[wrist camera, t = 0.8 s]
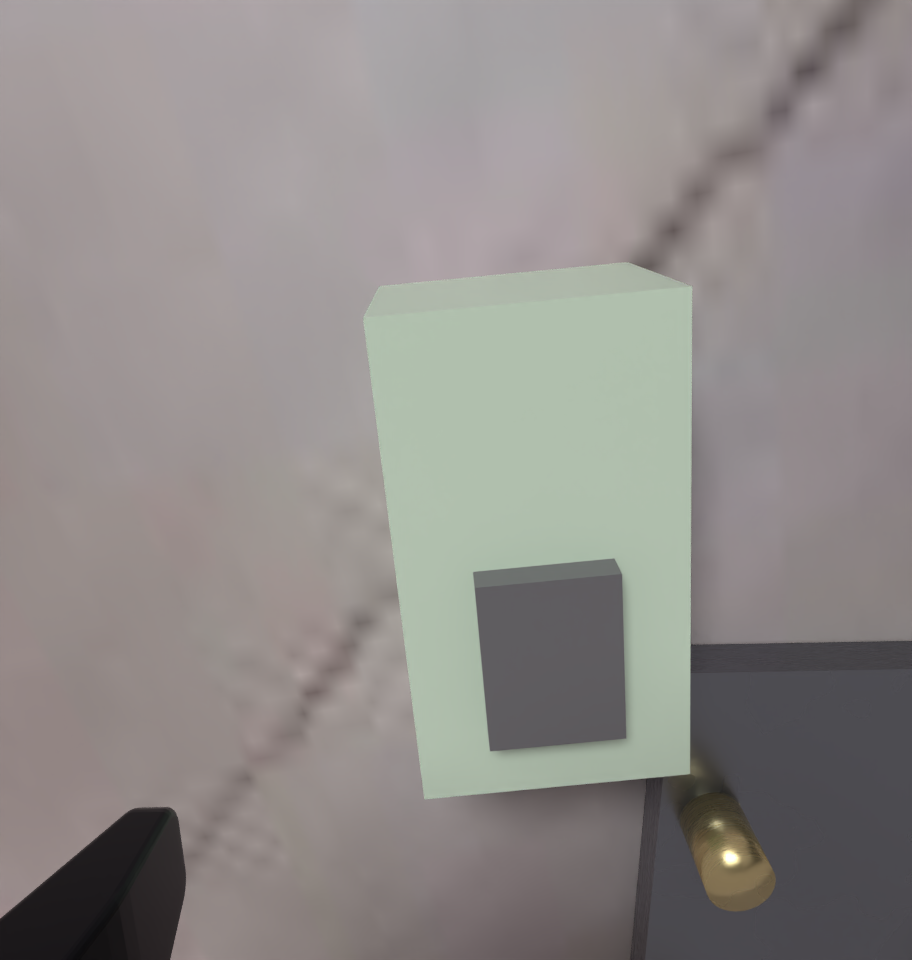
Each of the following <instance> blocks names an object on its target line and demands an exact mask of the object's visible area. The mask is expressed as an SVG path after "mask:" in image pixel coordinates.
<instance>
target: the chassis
mask: <svg viewBox="0 0 912 960" xmlns="http://www.w3.org/2000/svg"><path fill="white" fill-rule="evenodd" d="M631 960H912V641H884V642H828V643H772V644H715V645H691V646H690V774H686V775H676V776H665V777H655V778H647V784H646V795H645V806H644V817H643V828H642V839H641V850H640V862H639V873H638V884H637V895H636V906H635V917H634V928H633V939H632V950H631Z"/></svg>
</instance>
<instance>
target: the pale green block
mask: <svg viewBox="0 0 912 960" xmlns="http://www.w3.org/2000/svg"><path fill="white" fill-rule="evenodd" d="M363 321H364V329H365V337H366V345H367V353H368V360H369V368H370V376H371V384H372V392H373V400H374V407H375V415H376V423H377V431H378V439H379V447H380V455H381V462H382V470H383V478H384V486H385V494H386V502H387V509H388V517H389V525H390V533H391V541H392V549H393V556H394V564H395V572H396V580H397V588H398V596H399V603H400V611H401V619H402V627H403V635H404V643H405V651H406V658H407V666H408V674H409V682H410V690H411V698H412V705H413V713H414V721H415V729H416V737H417V745H418V752H419V760H420V768H421V776H422V784H423V792H424V799H434V798H445V797H455V796H466V795H476V794H487V793H497V792H508V791H518V790H529V789H539V788H550V787H560V786H571V785H581V784H592V783H602V782H613V781H623V780H634V779H644V778H655V777H665V776H676V775H686V774H690V646H691V432H692V286H690V285H687V284H685V283H682V282H679V281H677V280H674V279H671V278H669V277H666V276H663V275H661V274H658V273H655V272H652V271H650V270H647V269H644V268H642V267H639V266H636V265H634V264H631V263H628V262H625V263H614V264H604V265H594V266H583V267H573V268H562V269H552V270H542V271H531V272H521V273H511V274H500V275H490V276H479V277H469V278H459V279H448V280H438V281H428V282H417V283H407V284H397V285H386V286H379V288H378V290H377V292H376V294H375V296H374V298H373V300H372V302H371V303H370V305H369V307H368V309H367V311H366V313H365V315H364V317H363Z"/></svg>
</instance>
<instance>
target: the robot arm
mask: <svg viewBox="0 0 912 960" xmlns="http://www.w3.org/2000/svg"><path fill="white" fill-rule="evenodd" d="M185 886H186V871H185V863H184V856H183V849H182V842H181V835H180V827H179V821H178V817H177V815H176V812H175V811H174V810H173V809H171V808H169V807H152V808H135V809H132V810H130V811H128V812H127V813H126V814H124V815H123V816H122V817H121V818H120V819H118V820H117V821H116V822H115V823H114V824H112V825H111V826H110V827H109V828H108V829H106V830H105V831H104V832H103V833H102V834H101V835H99V836H98V837H97V838H96V839H95V840H93V841H92V842H91V843H90V844H89V845H87V846H86V847H85V848H84V849H83V850H81V851H80V852H79V853H78V854H77V855H76V856H74V857H73V858H72V859H71V860H70V861H68V862H67V863H66V864H65V865H64V866H62V867H61V868H60V869H59V870H58V871H56V872H55V873H54V874H53V875H52V876H50V877H49V878H48V879H47V880H46V881H45V882H43V883H42V884H41V885H40V886H39V887H37V888H36V889H35V890H34V891H33V892H31V893H30V894H29V895H28V896H27V897H25V898H24V899H23V900H22V901H21V902H20V903H18V904H17V905H16V906H15V907H14V908H12V909H11V910H10V911H9V912H8V913H6V914H5V915H4V916H3V917H2V918H0V960H170V958H171V953H172V949H173V944H174V940H175V936H176V931H177V927H178V922H179V918H180V913H181V909H182V905H183V900H184V895H185Z"/></svg>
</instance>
